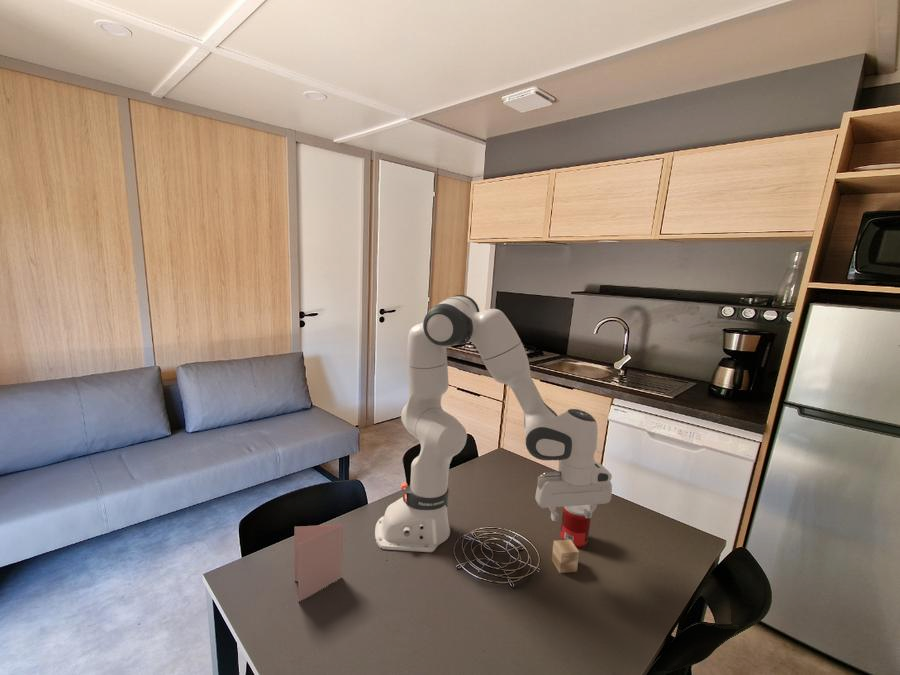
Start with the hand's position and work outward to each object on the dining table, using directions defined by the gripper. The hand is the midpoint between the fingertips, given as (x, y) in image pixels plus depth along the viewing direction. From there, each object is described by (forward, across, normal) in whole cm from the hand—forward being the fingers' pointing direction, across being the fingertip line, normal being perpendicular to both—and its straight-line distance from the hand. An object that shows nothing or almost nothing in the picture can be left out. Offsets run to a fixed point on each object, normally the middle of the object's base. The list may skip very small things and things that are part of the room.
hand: (571, 518), depth 107 cm
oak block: (+14, -1, 0) cm, 15 cm away
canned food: (+15, +7, +10) cm, 20 cm away
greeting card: (+13, -66, -1) cm, 67 cm away
